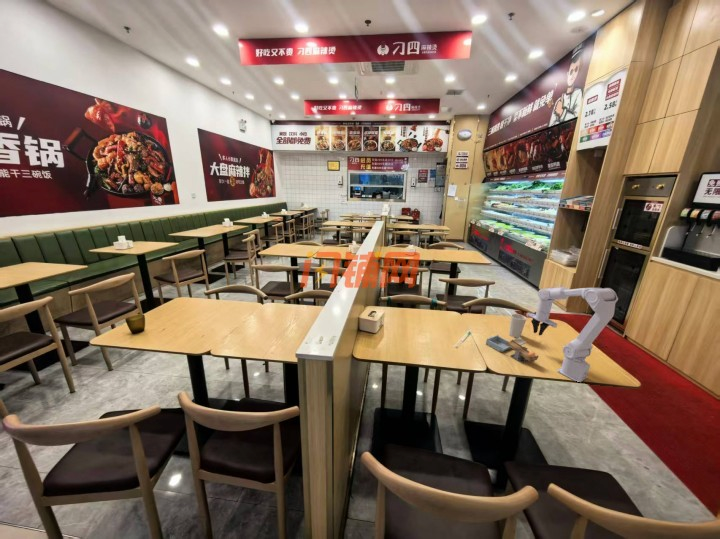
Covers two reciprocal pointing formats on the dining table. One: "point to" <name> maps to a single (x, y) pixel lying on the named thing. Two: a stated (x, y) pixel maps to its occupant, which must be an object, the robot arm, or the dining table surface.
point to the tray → (498, 343)
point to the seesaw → (521, 348)
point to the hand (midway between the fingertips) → (537, 333)
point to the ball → (531, 354)
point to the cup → (516, 325)
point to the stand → (518, 356)
